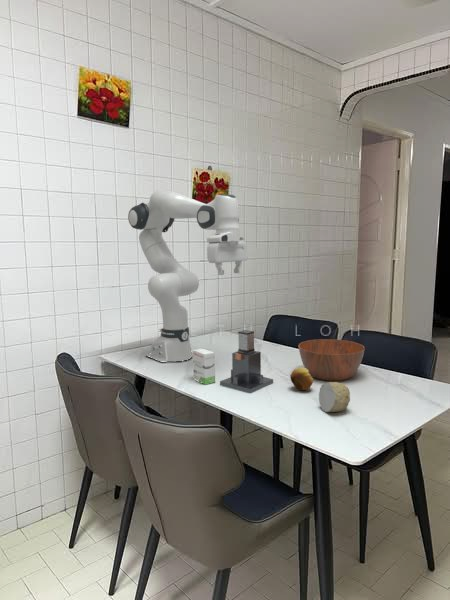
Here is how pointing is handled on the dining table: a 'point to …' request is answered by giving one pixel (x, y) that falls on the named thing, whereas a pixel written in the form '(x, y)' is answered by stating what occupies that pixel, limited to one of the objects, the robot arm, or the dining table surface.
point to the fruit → (301, 378)
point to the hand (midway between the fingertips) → (229, 274)
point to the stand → (246, 373)
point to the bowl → (331, 358)
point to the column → (246, 342)
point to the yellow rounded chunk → (334, 397)
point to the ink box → (203, 366)
